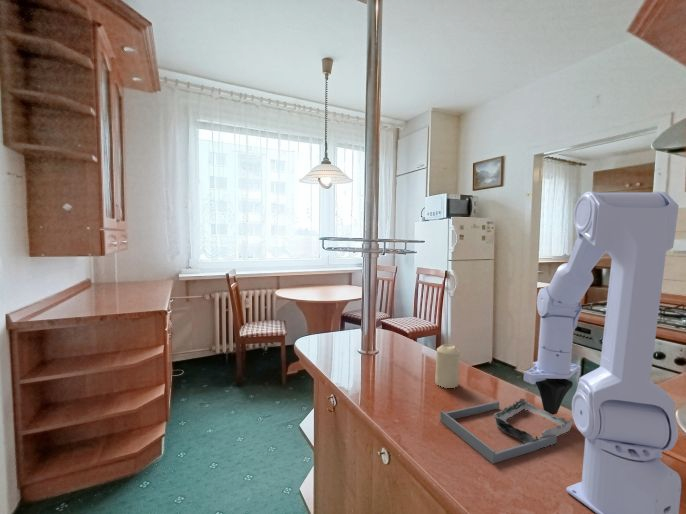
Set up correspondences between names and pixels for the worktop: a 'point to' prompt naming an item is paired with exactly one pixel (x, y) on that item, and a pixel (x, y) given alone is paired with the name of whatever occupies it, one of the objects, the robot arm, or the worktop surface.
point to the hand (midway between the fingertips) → (550, 411)
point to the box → (481, 446)
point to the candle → (447, 366)
